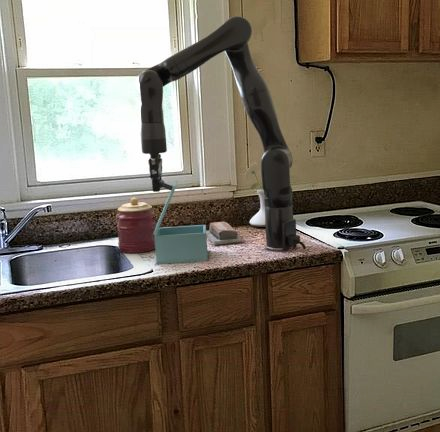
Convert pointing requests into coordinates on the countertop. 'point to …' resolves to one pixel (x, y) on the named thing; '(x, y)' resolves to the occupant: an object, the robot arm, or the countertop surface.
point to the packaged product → (222, 234)
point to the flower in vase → (260, 216)
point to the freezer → (181, 244)
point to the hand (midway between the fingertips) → (157, 189)
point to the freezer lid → (166, 202)
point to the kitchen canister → (136, 227)
